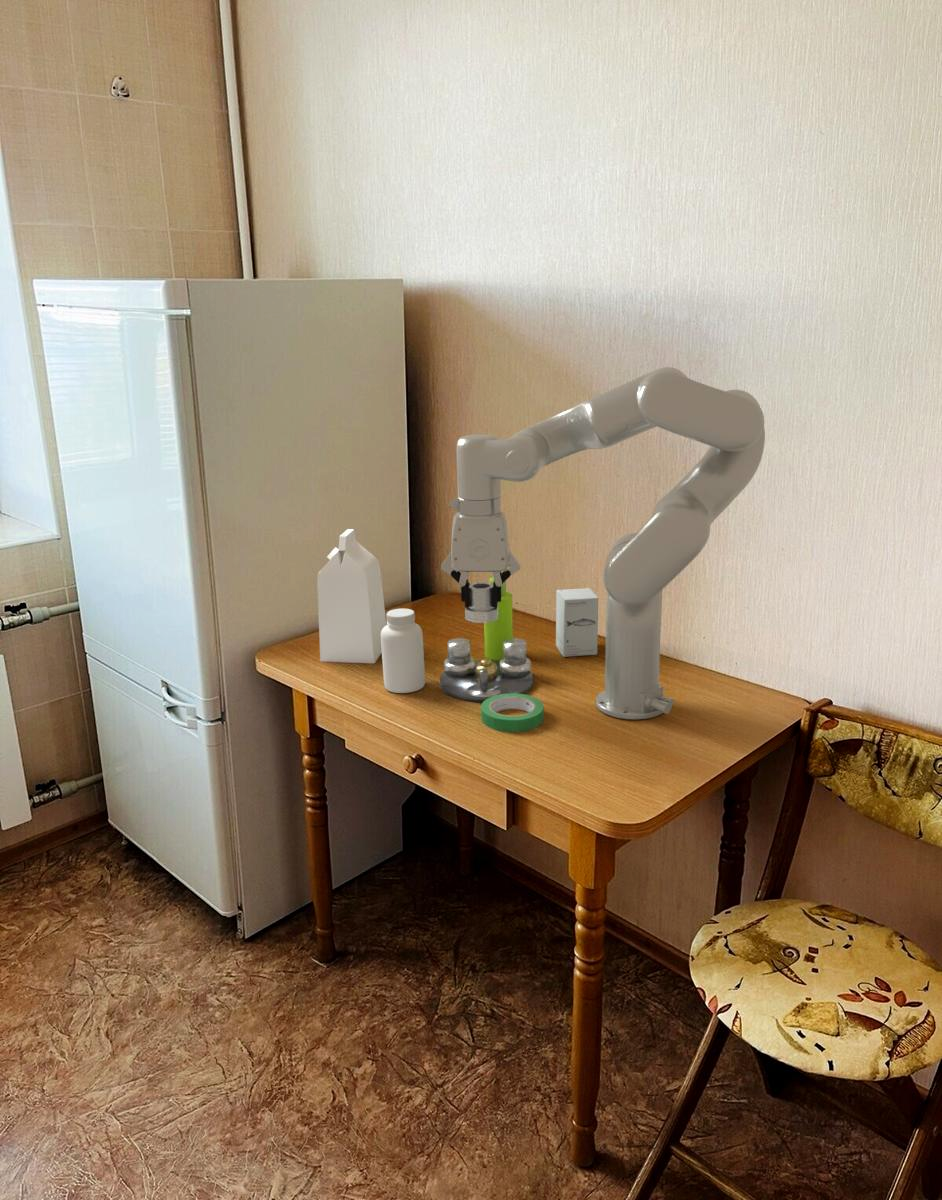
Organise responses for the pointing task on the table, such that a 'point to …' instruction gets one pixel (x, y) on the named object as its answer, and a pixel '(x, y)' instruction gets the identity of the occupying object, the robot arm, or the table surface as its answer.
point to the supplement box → (576, 622)
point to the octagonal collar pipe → (481, 603)
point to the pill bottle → (402, 652)
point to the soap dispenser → (499, 626)
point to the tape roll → (512, 722)
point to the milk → (350, 604)
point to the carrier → (485, 672)
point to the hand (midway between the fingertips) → (481, 604)
